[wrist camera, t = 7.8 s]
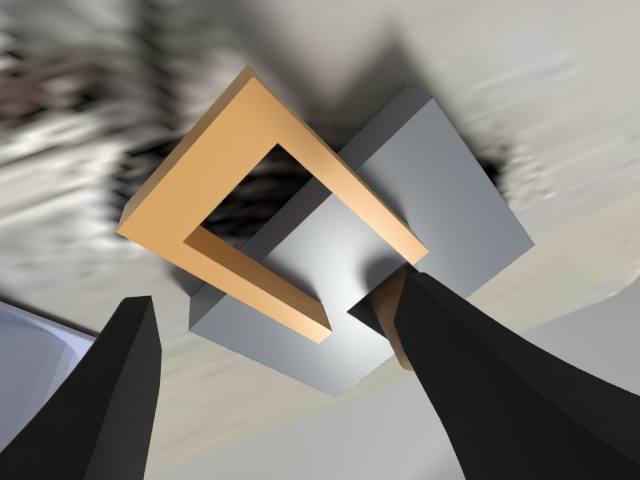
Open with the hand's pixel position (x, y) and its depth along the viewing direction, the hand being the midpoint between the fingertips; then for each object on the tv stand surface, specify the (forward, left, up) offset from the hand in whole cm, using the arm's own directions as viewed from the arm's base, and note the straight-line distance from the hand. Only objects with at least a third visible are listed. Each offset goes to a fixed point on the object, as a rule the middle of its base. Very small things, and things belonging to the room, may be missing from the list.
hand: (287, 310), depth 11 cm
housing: (+8, 0, -9) cm, 13 cm away
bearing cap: (+1, 0, -7) cm, 7 cm away
